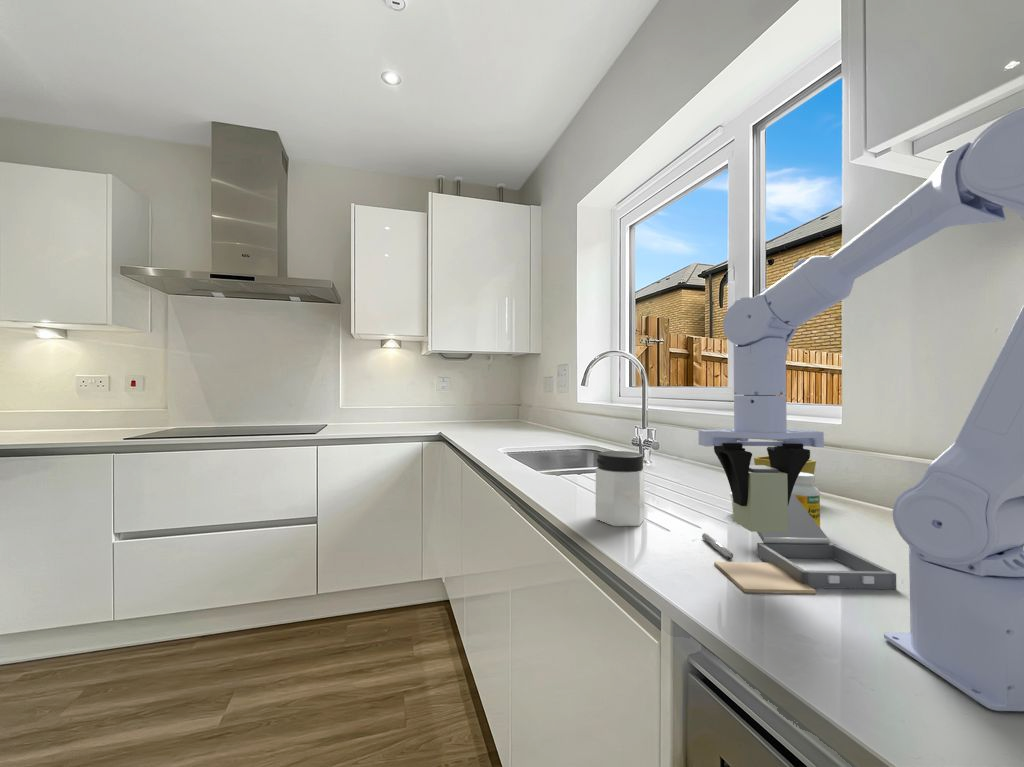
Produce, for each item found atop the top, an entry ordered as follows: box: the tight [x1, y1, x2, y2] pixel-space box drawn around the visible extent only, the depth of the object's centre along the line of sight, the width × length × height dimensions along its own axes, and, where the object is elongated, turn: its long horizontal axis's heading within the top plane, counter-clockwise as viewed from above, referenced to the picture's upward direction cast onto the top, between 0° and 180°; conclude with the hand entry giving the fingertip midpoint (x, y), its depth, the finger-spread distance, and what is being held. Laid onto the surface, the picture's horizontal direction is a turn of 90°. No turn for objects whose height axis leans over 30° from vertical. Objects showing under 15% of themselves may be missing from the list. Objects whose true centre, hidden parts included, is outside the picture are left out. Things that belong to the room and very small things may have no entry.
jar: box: [595, 450, 645, 527], centre depth 78 cm, size 9×8×12 cm
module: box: [732, 464, 788, 533], centre depth 54 cm, size 4×4×7 cm
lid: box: [756, 494, 831, 544], centre depth 65 cm, size 8×9×7 cm
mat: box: [713, 561, 817, 595], centre depth 53 cm, size 8×8×1 cm
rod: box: [701, 532, 734, 560], centre depth 63 cm, size 8×1×1 cm, turn 178°
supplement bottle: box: [791, 472, 821, 528], centre depth 72 cm, size 5×5×10 cm
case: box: [756, 542, 897, 590], centre depth 56 cm, size 10×11×2 cm
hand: (760, 504), depth 54 cm, fingers closed on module, 4 cm apart
